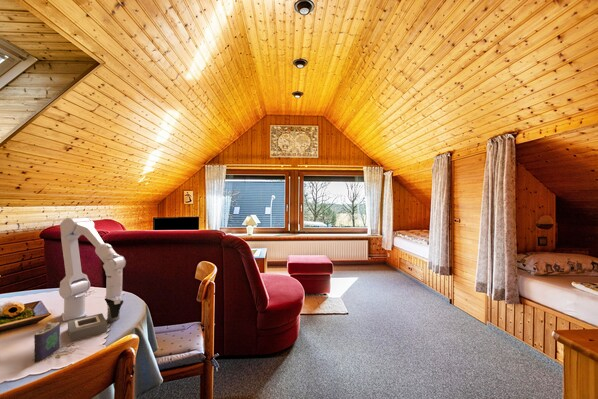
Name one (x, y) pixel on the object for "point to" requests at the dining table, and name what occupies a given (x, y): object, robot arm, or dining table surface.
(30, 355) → the dining table surface
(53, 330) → the flask
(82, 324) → the grey frame block
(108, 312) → the lens
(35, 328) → the dining table surface
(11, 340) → the dining table surface
